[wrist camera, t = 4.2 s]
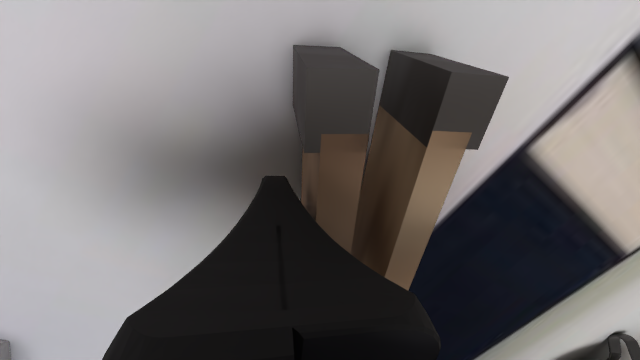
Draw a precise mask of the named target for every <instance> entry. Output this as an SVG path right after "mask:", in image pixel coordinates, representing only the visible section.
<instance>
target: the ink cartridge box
mask: <svg viewBox="0 0 640 360" xmlns="http://www.w3.org/2000/svg"><path fill="white" fill-rule="evenodd" d="M0 360H11V354H10V345H9V341H6V340H0Z"/></svg>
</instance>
